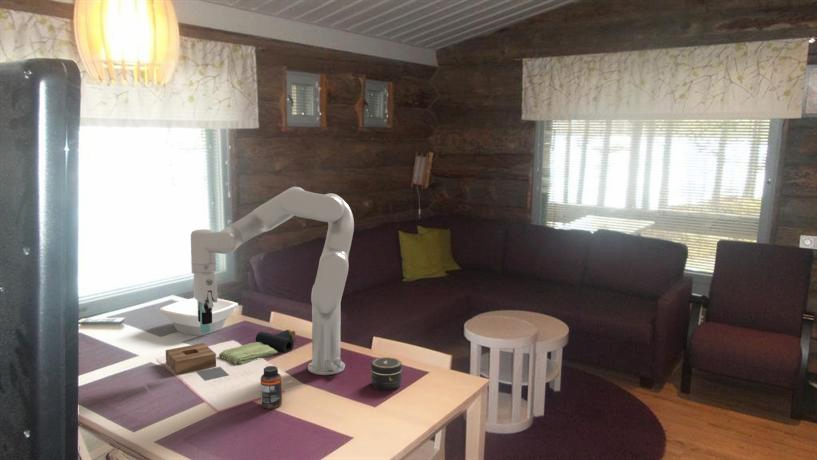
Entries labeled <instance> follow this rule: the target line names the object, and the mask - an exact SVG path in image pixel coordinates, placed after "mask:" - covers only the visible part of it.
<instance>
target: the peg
mask: <svg viewBox="0 0 817 460" xmlns="http://www.w3.org/2000/svg"><path fill="white" fill-rule="evenodd" d="M205 302H206V303H207V302H208V301H205ZM206 306H207V305H205V307H206ZM202 312H203V308H202V303H201V302H200V329H201V332H202V333H207V332H210V324H204V325H203V324H202Z"/></svg>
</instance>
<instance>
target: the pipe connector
mask: <svg viewBox="0 0 817 460" xmlns="http://www.w3.org/2000/svg"><path fill="white" fill-rule="evenodd" d="M295 335H296V331H294V330H290V329H286V330H283V331H281V332H279V333H276V334H273V333H270V332H269V333H268V332H265V331H259V332H258V333H257V334H256V336H255V342H262V343H263V344H264V345H268V346H269V347H271V348H273V349H274V350H276V351H281V352H284V353H289V352H291V351H293V349H294V342H296V337H294V336H295Z"/></svg>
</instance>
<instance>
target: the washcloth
mask: <svg viewBox="0 0 817 460" xmlns="http://www.w3.org/2000/svg"><path fill="white" fill-rule="evenodd" d="M276 354H278V350H276V349H273V348H271V347H269V346H268V345H264V344H263V343H262V342H256V341H255V342H250V343H246V344H243V345H240V346H237V347H231V348H228V349H225V350H222V351H221V352H219V354H218V357H219V356H221V357H223V358H225V359H228V360H229V362H230V361H231V362H232V363H231V364H233V365H236V366H238V365H245V364H248V363H250V362H252V361H251V360H254V361H256V360H258V359H257V358H260V359H263V358H268V357H272V356H274V355H276ZM225 359H224V360H225ZM255 359H256V360H255ZM228 360H227V361H228ZM249 361H250V362H249Z"/></svg>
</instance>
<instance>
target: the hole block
mask: <svg viewBox="0 0 817 460" xmlns="http://www.w3.org/2000/svg"><path fill="white" fill-rule="evenodd" d="M165 364H166V365H167V366H168V367H169V368H170V369H171V371H173V372H174V374H175V375H177V376H178V375H183V374H187V373H193V372H198V371H203V370H207V369H212V368H217V353H216V352H215V351H214V350H212V348H210V347H209V346H208V345H207V344H205V343H204V342H202V343H197V344H193V345H192V344H191V345H186V346H181V347H175V348H169V349H165Z"/></svg>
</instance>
